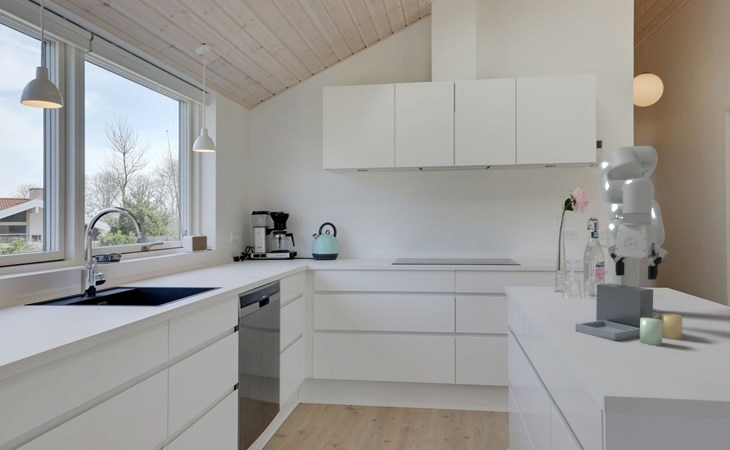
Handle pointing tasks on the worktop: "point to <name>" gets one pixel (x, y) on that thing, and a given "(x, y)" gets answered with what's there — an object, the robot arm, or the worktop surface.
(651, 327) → the mint green rounded cylinder
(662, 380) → the worktop surface
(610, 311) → the panel
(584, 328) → the tray
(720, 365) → the worktop surface
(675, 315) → the tan rounded capsule
